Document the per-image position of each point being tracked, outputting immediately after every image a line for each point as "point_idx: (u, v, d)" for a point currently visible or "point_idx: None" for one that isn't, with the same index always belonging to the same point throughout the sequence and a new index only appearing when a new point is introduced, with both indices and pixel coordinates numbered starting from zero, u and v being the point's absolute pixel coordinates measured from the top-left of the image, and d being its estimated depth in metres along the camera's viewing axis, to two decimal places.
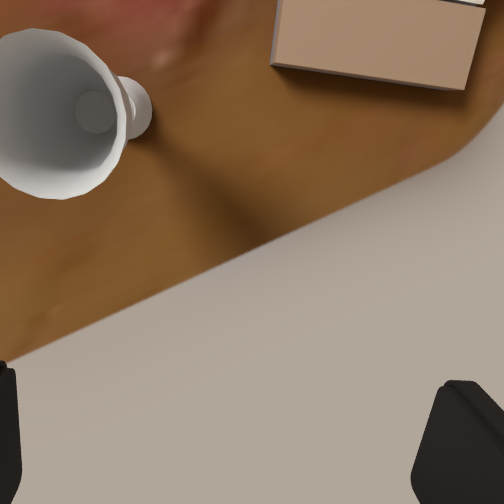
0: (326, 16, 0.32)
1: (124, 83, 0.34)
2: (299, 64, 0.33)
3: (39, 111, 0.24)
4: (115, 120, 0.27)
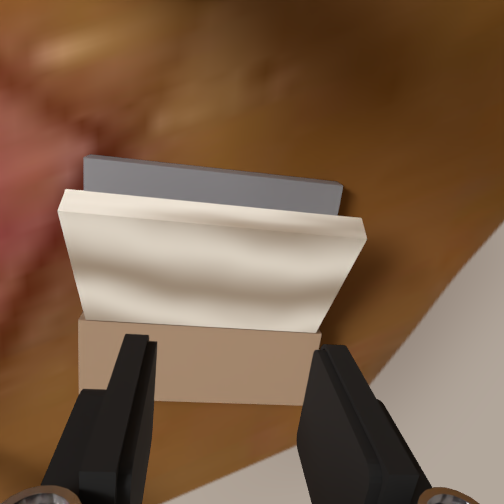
0: None
1: None
2: None
3: None
4: None
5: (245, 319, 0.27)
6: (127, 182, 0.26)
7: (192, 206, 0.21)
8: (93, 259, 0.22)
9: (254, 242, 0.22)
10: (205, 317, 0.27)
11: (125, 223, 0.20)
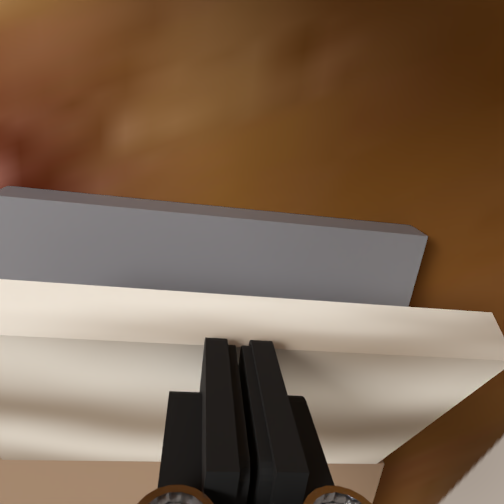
0: (85, 503, 0.18)
1: None
2: None
3: None
4: None
5: None
6: (68, 235, 0.15)
7: (175, 302, 0.11)
8: None
9: (296, 369, 0.11)
10: None
11: (34, 345, 0.10)
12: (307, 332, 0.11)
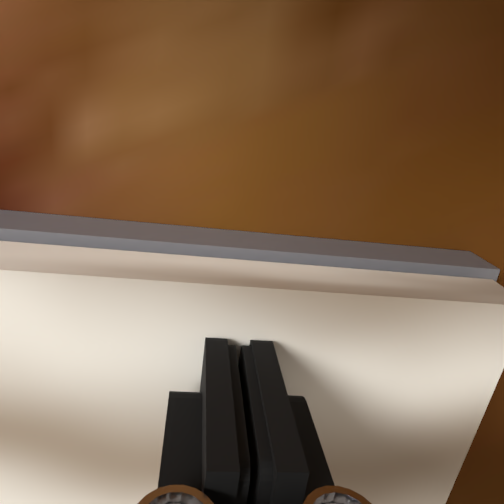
0: None
1: None
2: None
3: None
4: None
5: None
6: None
7: (168, 259, 0.10)
8: None
9: (301, 328, 0.10)
10: None
11: (14, 288, 0.09)
12: (308, 281, 0.10)
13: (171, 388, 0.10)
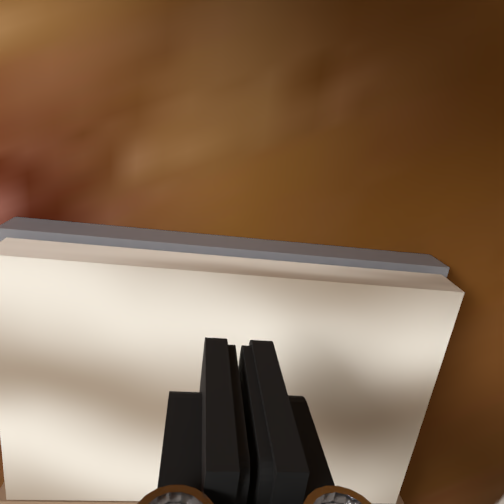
0: None
1: None
2: None
3: None
4: None
5: None
6: None
7: (197, 257, 0.14)
8: (33, 356, 0.14)
9: (293, 307, 0.14)
10: None
11: (92, 275, 0.13)
12: (298, 273, 0.14)
13: (198, 352, 0.14)
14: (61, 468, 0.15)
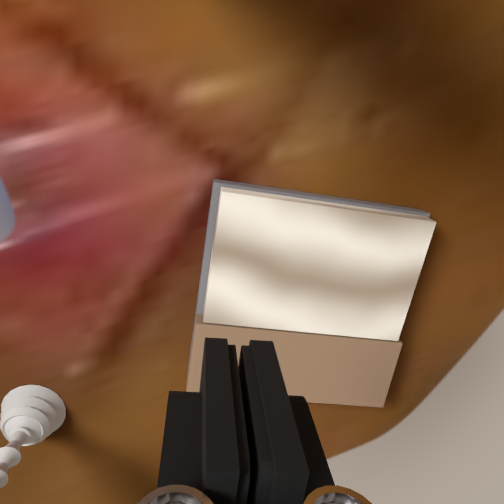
0: (238, 355, 0.32)
1: (33, 399, 0.33)
2: None
3: None
4: None
5: (340, 322, 0.32)
6: None
7: (309, 200, 0.29)
8: (232, 243, 0.29)
9: (355, 225, 0.29)
10: (306, 318, 0.31)
11: (266, 204, 0.28)
12: (358, 209, 0.29)
13: (308, 245, 0.29)
14: (233, 306, 0.30)
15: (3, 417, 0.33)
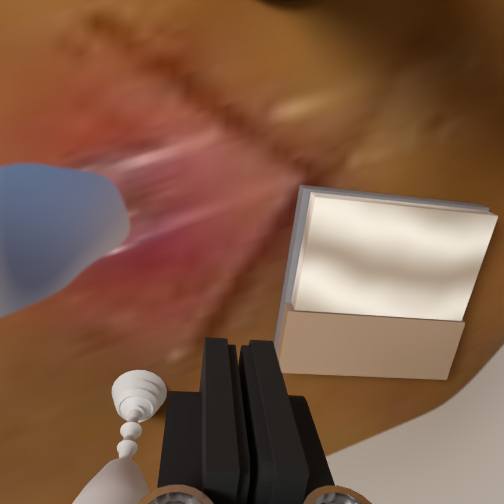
0: (323, 338, 0.36)
1: (142, 382, 0.38)
2: (299, 372, 0.37)
3: None
4: None
5: (411, 306, 0.36)
6: None
7: (386, 201, 0.33)
8: (322, 240, 0.33)
9: (428, 221, 0.33)
10: (383, 304, 0.36)
11: (353, 206, 0.32)
12: (430, 207, 0.33)
13: (387, 240, 0.34)
14: (320, 295, 0.35)
15: (119, 398, 0.38)
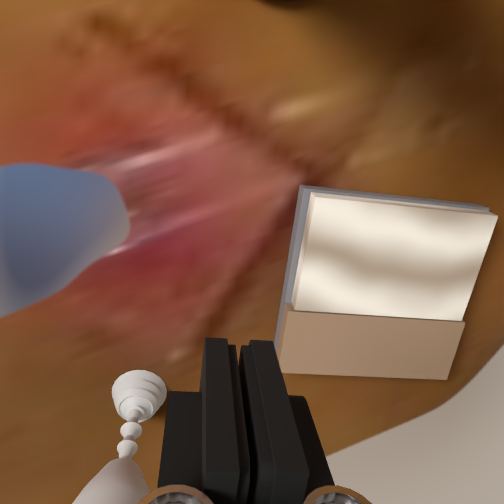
0: (323, 338, 0.36)
1: (142, 382, 0.38)
2: (299, 372, 0.37)
3: None
4: None
5: (411, 306, 0.36)
6: None
7: (386, 201, 0.33)
8: (322, 240, 0.33)
9: (428, 221, 0.33)
10: (383, 304, 0.36)
11: (353, 206, 0.32)
12: (430, 207, 0.33)
13: (387, 240, 0.34)
14: (320, 295, 0.35)
15: (119, 398, 0.38)
